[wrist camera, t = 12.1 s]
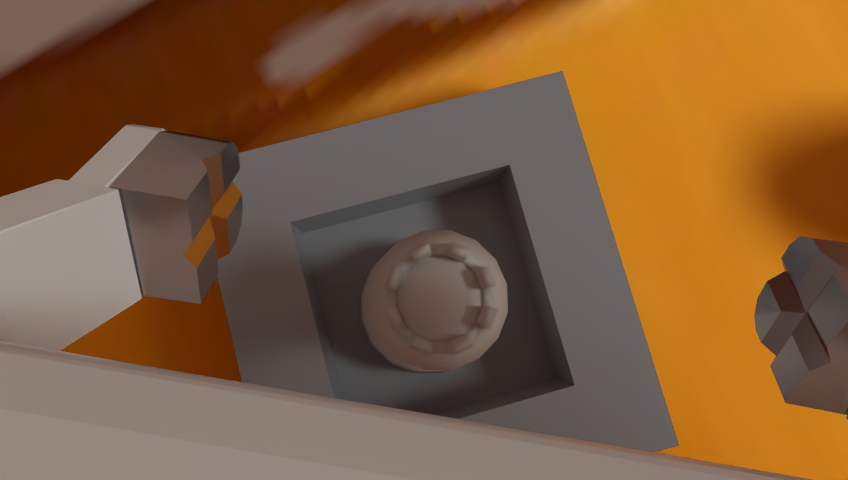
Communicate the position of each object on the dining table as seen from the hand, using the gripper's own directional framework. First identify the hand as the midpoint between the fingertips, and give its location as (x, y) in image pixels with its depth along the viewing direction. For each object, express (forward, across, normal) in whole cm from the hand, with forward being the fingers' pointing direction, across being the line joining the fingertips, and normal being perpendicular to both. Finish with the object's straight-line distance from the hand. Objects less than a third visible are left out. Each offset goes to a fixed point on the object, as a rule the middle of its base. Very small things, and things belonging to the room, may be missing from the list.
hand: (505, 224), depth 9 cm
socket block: (+8, +1, +10) cm, 13 cm away
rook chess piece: (+8, +1, +10) cm, 13 cm away
